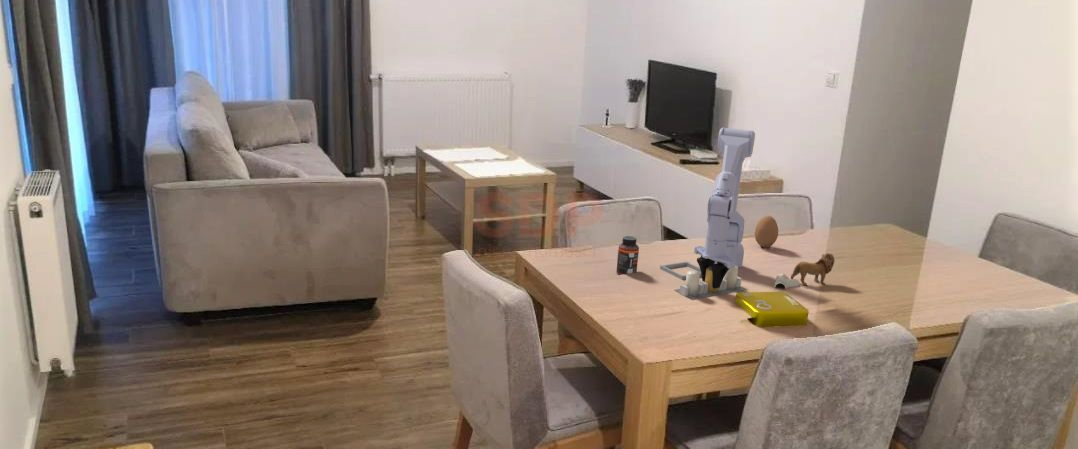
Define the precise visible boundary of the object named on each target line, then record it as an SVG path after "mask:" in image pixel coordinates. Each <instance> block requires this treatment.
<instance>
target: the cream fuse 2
mask: <svg viewBox="0 0 1078 449" xmlns="http://www.w3.org/2000/svg"><path fill="white" fill-rule="evenodd" d="M738 273H739V267H738V266H736V265H735V268H732V269H729V270H728V271H727V273H726V274H725V276H724V278H723V279H725V280H727V288H728V289H734V288H736V281H737V276H738Z"/></svg>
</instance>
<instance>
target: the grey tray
mask: <svg viewBox="0 0 1078 449" xmlns="http://www.w3.org/2000/svg"><path fill="white" fill-rule="evenodd" d="M678 267H688V268H689V269H692V270H693V271H697V272H700V277H702V275H701V270H700V267H699V266H697V265H695V264H693V263H691V262H689V261H681V262H680V261H679V262H676V263H675V262H674V263H668V264H661V265H660V266H659V269H660V270H662V271H664V272H665V273H667V274H669V275H671V276H674V277H675V278H678V279H680V280H686V275H687V274H683V275H682V274H680V273H679V272H677V271H675V270H673V268H678Z"/></svg>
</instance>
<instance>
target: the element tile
mask: <svg viewBox="0 0 1078 449" xmlns="http://www.w3.org/2000/svg"><path fill="white" fill-rule="evenodd" d="M734 301H735V304H736V305H737V306H738V307H740V308H741V309H742V310H743V311H744V312H745V313H746V314H748V315H749V316H750V317H747V318H746V319H747V321H749V323H751V324H752V325H753V326H756V327H758V328H775V327H774V326H781V327H804V326H806V325H808V318H809V309H807V308H806V307H805V306H804V305H802V304H801V303H800V302H798V301H797V300H796V299H794V298H793V297H792V296H791V295H789V294H788V293H787V292H785V291H748V292H747V291H745V292H744V291H739V292H736V293H735V300H734ZM803 325H804V326H803Z"/></svg>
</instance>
